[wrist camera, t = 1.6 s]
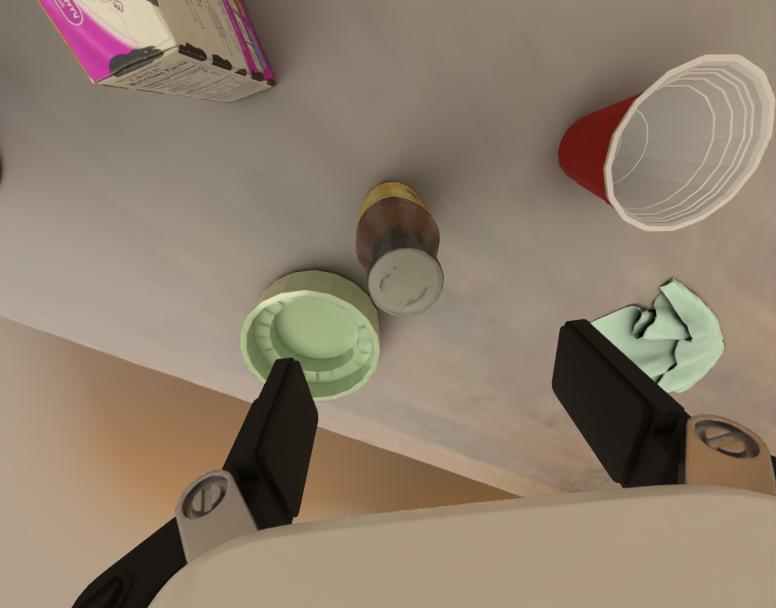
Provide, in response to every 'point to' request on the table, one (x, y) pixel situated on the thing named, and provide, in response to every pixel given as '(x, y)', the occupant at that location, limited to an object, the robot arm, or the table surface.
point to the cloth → (667, 337)
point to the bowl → (314, 332)
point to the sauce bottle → (399, 250)
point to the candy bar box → (165, 46)
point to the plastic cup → (675, 143)
